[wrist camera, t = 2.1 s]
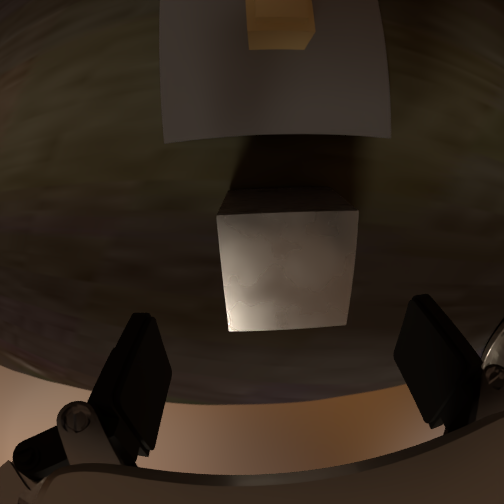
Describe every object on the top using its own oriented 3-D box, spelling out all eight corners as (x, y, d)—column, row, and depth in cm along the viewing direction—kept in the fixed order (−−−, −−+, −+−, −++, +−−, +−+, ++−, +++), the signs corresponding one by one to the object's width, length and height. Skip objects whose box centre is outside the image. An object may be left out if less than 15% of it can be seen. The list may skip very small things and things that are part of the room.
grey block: (372, 136, 17) (427, 143, 11) (177, 141, 17) (136, 148, 11) (355, -22, 12) (390, -66, 5) (173, -20, 12) (142, -67, 6)
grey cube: (325, 276, 21) (346, 324, 16) (235, 280, 21) (229, 331, 16) (329, 186, 19) (358, 211, 13) (228, 190, 19) (216, 215, 13)
